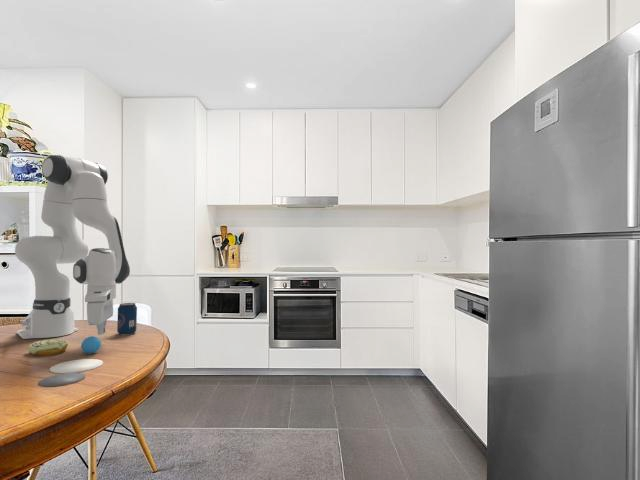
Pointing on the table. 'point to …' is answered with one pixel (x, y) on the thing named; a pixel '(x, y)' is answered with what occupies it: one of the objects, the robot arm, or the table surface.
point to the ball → (91, 345)
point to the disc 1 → (61, 379)
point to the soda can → (127, 319)
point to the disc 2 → (76, 366)
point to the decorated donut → (48, 347)
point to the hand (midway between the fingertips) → (101, 333)
